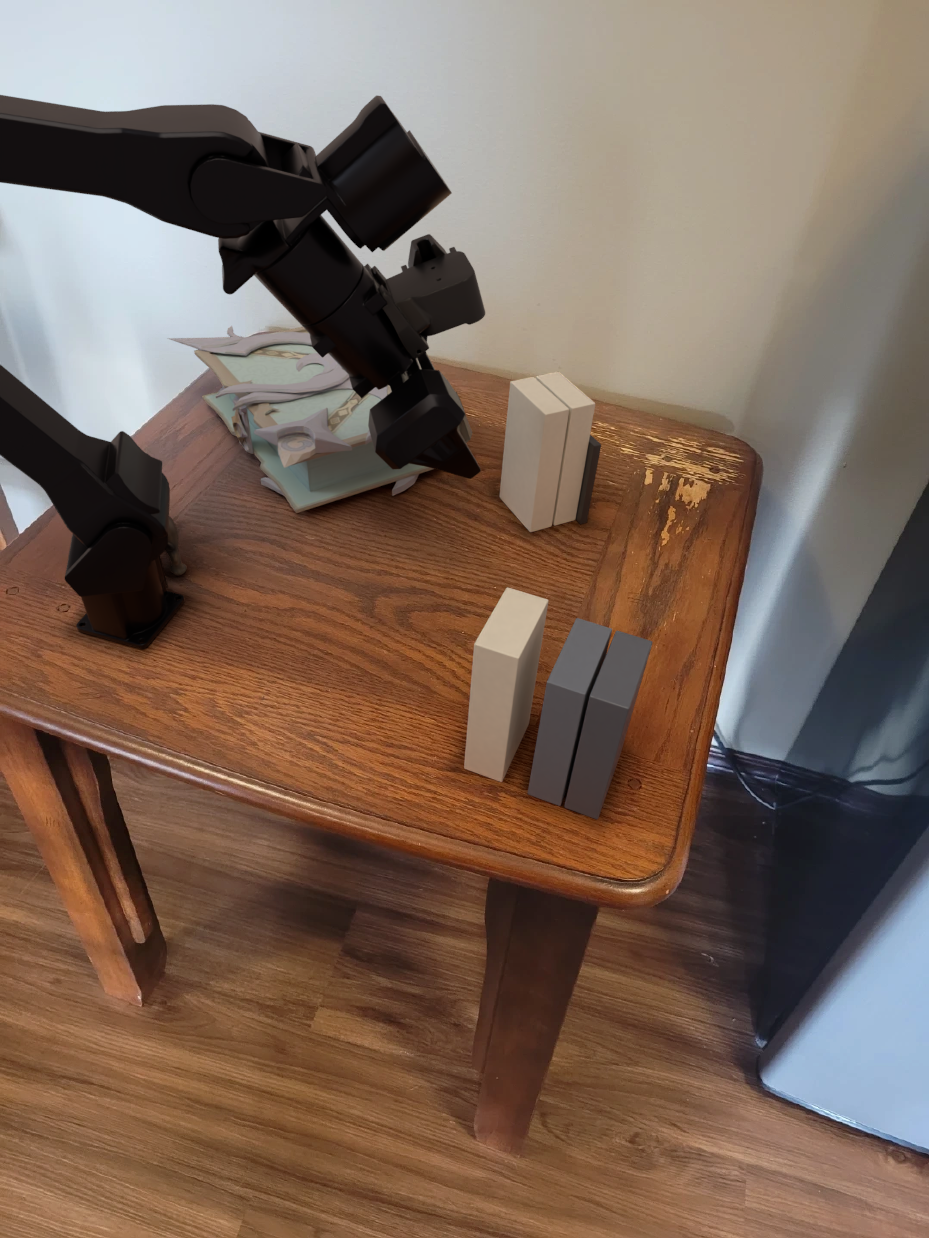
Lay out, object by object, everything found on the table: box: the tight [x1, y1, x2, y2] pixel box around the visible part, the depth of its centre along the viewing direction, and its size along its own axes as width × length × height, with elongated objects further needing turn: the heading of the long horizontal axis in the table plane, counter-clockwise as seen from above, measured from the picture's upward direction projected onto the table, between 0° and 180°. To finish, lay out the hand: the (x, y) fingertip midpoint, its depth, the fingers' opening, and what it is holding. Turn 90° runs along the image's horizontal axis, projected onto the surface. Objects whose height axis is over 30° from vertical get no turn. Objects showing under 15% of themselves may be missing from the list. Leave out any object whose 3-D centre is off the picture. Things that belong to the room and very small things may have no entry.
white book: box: [463, 586, 549, 783], centre depth 59 cm, size 3×6×13 cm, turn 158°
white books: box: [499, 371, 602, 533], centre depth 81 cm, size 6×8×13 cm
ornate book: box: [166, 325, 473, 514], centre depth 91 cm, size 23×10×30 cm
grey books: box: [527, 617, 654, 820], centre depth 58 cm, size 5×6×12 cm
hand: (462, 441), depth 67 cm, fingers open, 9 cm apart
